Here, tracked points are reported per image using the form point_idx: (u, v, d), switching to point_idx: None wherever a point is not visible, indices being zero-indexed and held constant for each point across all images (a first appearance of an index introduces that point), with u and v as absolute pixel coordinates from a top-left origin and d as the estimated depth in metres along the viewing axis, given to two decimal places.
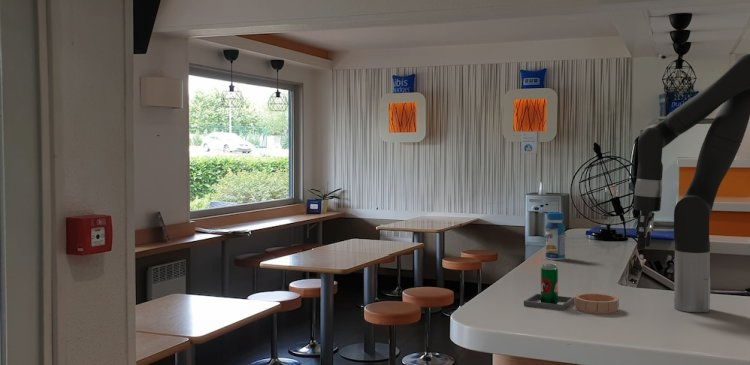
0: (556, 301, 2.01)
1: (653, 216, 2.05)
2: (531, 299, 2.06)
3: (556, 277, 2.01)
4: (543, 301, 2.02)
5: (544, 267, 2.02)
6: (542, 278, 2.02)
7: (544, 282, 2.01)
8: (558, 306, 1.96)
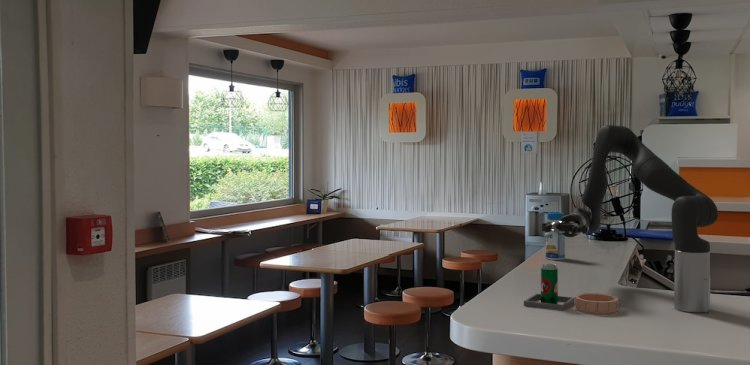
0: (556, 301, 2.01)
1: (584, 224, 2.16)
2: (531, 299, 2.06)
3: (556, 277, 2.01)
4: (543, 301, 2.02)
5: (544, 267, 2.02)
6: (542, 278, 2.02)
7: (544, 282, 2.01)
8: (558, 306, 1.96)
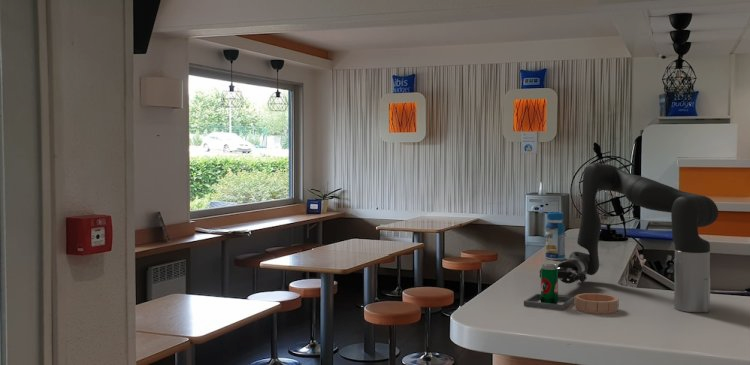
0: (556, 301, 2.01)
1: (582, 271, 2.15)
2: (531, 299, 2.06)
3: (556, 277, 2.01)
4: (543, 301, 2.02)
5: (544, 267, 2.02)
6: (542, 278, 2.02)
7: (544, 282, 2.01)
8: (558, 306, 1.96)
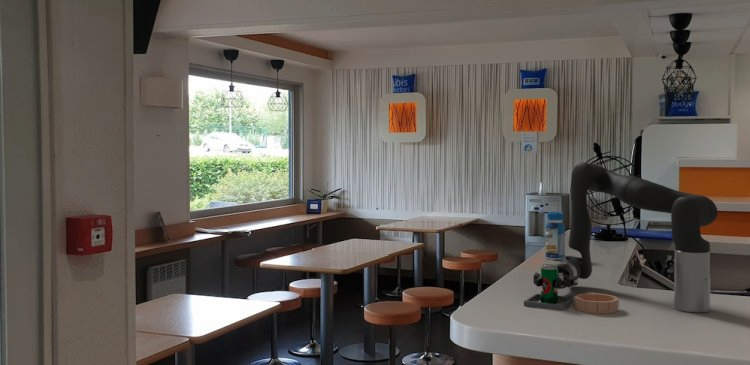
0: (556, 301, 2.01)
1: (573, 276, 2.06)
2: (531, 299, 2.06)
3: (556, 277, 2.01)
4: (543, 301, 2.02)
5: (544, 267, 2.02)
6: (542, 278, 2.02)
7: (544, 282, 2.01)
8: (558, 306, 1.96)
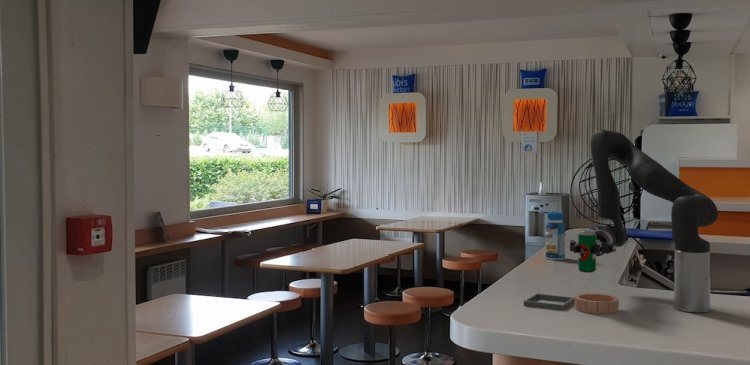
0: (594, 268, 1.95)
1: (611, 243, 1.99)
2: (531, 299, 2.06)
3: (594, 243, 1.95)
4: (581, 268, 1.95)
5: (582, 233, 1.95)
6: (580, 244, 1.95)
7: (582, 249, 1.95)
8: (558, 306, 1.96)
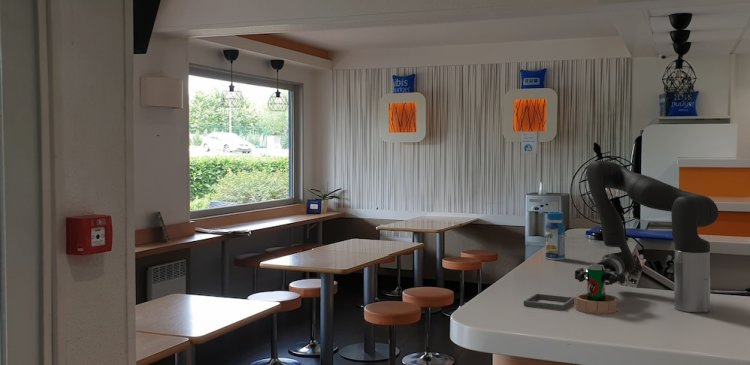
0: None
1: (622, 272, 1.99)
2: (531, 299, 2.06)
3: (604, 278, 1.94)
4: None
5: (591, 267, 1.94)
6: (589, 279, 1.95)
7: (592, 283, 1.94)
8: (558, 306, 1.96)
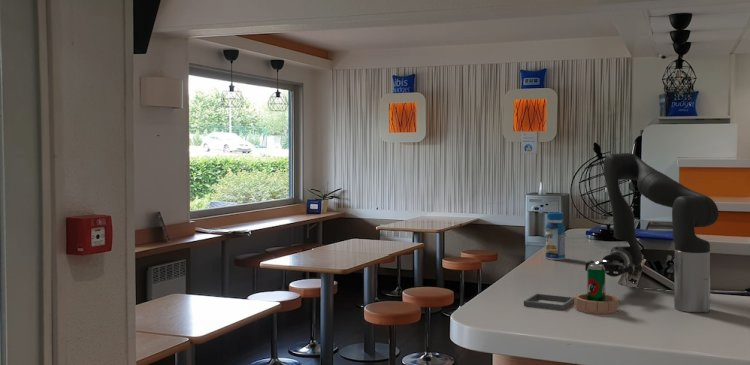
0: None
1: (630, 263, 2.10)
2: (531, 299, 2.06)
3: (604, 277, 1.94)
4: None
5: (591, 267, 1.95)
6: (589, 279, 1.95)
7: (592, 283, 1.94)
8: (558, 306, 1.96)
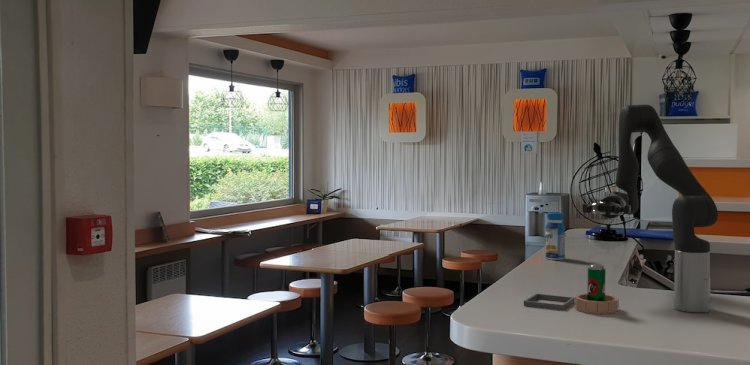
0: None
1: None
2: (531, 299, 2.06)
3: (604, 277, 1.94)
4: None
5: (591, 267, 1.95)
6: (589, 279, 1.95)
7: (592, 283, 1.94)
8: (558, 306, 1.96)
